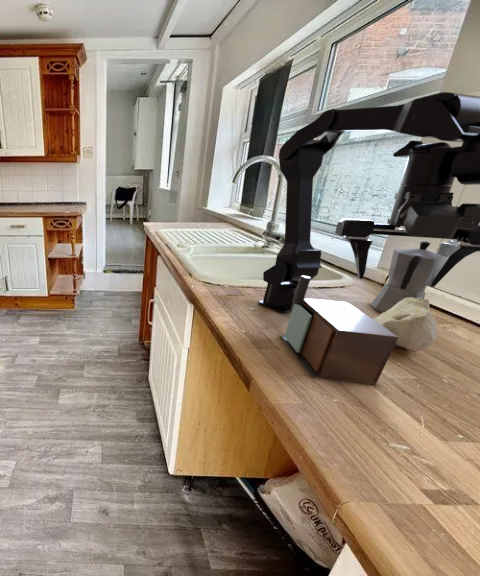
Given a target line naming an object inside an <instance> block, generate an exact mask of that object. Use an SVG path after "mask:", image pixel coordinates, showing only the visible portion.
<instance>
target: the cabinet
mask: <svg viewBox="0 0 480 576" xmlns="http://www.w3.org/2000/svg"><path fill="white" fill-rule="evenodd" d="M300 306H302V307H303V308H304V309H305V310H306V311H307V312H308V313H309V314H310V315H311V316H312V318H311V321H310V324H309V327H308V330H307V332H306V335H305V338H304V341H303V344H302V347H301V350H300V353H297V352H296V350H295V349H294V348H293V347H292V345H291V344H290V343H289V342H288V340H287V339H286V338H285V337H284V335H280V338H281V340H282V341H283V342H284V343H285V345H286V346H287V348H288V349H289V350H290V351H291V353H292V354H293V356H294V357H295V358H296V359H297V361H298V362H299V363H300V364H301V366H302V367H303V368H304V370H305V371H306V372H307V373H308V375H309V376H310V377H311V378H318V377H319V378H320V379H326V380H334V381H341V382H348V383H349V382H350V383H356V384H365V385H372V386H376V385H377V382H378V381H379V379H380V377H381V375H382V374H383V371H384V368H385V367H386V365H387V362H388V360H389V358H390V356H391V355H392V352H393V350H394V348H395V346H396V342H397V340H398V338H399V337H398V336H396V335H395V334H393V333H392V332H390V331H389V330H387V329H386V328H385V327H383V326H382V325H380V324H379V323H377V322H376V321H374V320H373V319H374V318H371V317H370V316H369V315H367V314H366V313H364V312H363V311H361V309H358V308H357V307H356V306H354V305H352V304H351V303H349V302H348V301H339V300H329V299H319V298H309V297H308V298H307V297H304V300H303V303H302V305H300Z"/></svg>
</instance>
